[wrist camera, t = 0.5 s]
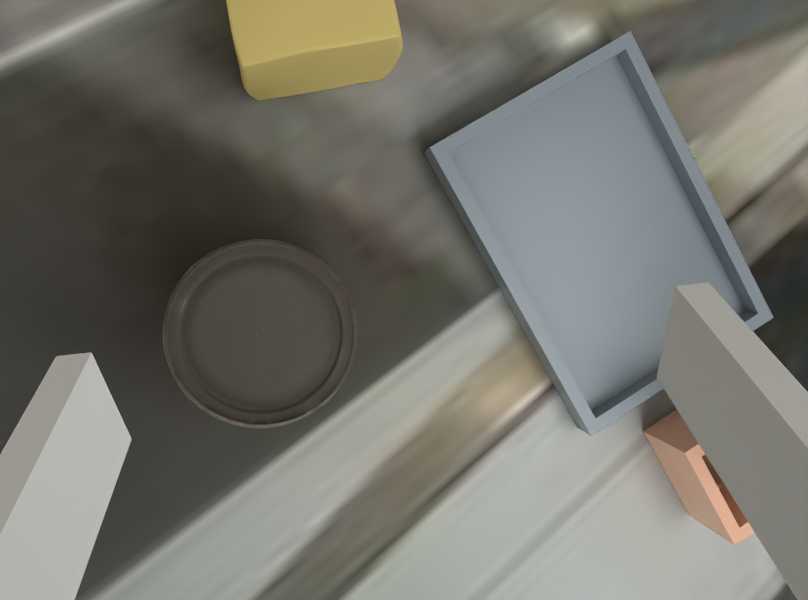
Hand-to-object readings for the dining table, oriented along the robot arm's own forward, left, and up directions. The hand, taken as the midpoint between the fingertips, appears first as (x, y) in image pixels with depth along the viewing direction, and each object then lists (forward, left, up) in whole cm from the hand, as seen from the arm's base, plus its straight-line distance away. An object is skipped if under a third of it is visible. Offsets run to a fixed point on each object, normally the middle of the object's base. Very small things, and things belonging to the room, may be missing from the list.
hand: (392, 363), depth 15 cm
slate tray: (-7, -20, -34) cm, 40 cm away
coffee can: (+1, +5, -34) cm, 35 cm away
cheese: (+18, -8, -34) cm, 40 cm away
